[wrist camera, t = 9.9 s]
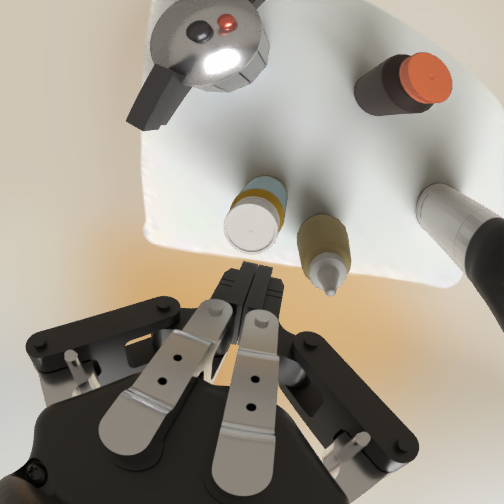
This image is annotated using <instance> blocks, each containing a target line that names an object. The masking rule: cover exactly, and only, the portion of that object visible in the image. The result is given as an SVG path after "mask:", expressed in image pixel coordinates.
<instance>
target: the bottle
mask: <svg viewBox="0 0 504 504" xmlns="http://www.w3.org/2000/svg"><path fill="white" fill-rule="evenodd" d="M286 205H287V192H286V189H285V187H284V185H283V184H282V183H281V182H280V181H279V180H278V179H276V178H274V177H271V176H259V177H256V178H254V179H252V180H251V181H250V182H249V183H248V184H247V185H246V186H245V188H244V189H243V190H242V191H241V192H240V193H239V195H238V196H237V197H236V198H235V199H234V201H233V203H232V205H231V208H230V211H229V213H228V214H227V216H226V218H225V222H224V233H225V236H226V238H227V240H228V242H229V243H230V244H231V246H232V247H234V248H235V249H236V250H238V251H240V252H242V253H245V254H259V253H263V252H265V251H266V250H268V249H269V248H271V246H273V244H274V243H275V241H276V239H277V236H278V233H279V231H280V230H281V228H282V226H283V223H284V217H285V211H286Z"/></svg>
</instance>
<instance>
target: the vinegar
mask: <svg viewBox="0 0 504 504" xmlns="http://www.w3.org/2000/svg"><path fill="white" fill-rule="evenodd" d="M451 90H452V79H451V75H450V73H449V71H448V69H447V67H446V65H444V64H443V62H442V61H441V60H439V59H438V58H437V57H436V56H434V55H432V54H430V53H429V54H428V53H426V52H425V53H424V52H423V53H422V52H421V53H420V52H419V53H416V54H414V55H412V56H409V55H395V56H393V57H390V58H388V59H387V60H385V61H384V62H383V63H381V64H380V65H378V66H377V67H375V68H374V69H373V70H371V71H370V72H368V73H367V74H366V75H364V76H363V77H362V78H361V79H360V80H359V81H358V82H357V83H356V86H355V91H354V94H355V98H356V101H357V103H358V104H359V106H360V107H361V108H362V109H363V110H364V111H365V112H367V113H369V114H371V115H375V116H382V115H394V114H411V113H422V112H424V111H426V110H429V108H430V107H431V106H432V105H433V104H434V103H440V102H443V101H445V100H446V99H447V98H448V97H449V96H450V94H451Z"/></svg>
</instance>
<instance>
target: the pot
mask: <svg viewBox="0 0 504 504" xmlns="http://www.w3.org/2000/svg"><path fill="white" fill-rule="evenodd" d="M248 1H249V2H250V3H251V4H252V5H253V6H254V7H255V9H257V8H258V7H259V6H260V5H261V4H262V3H263V2H264V1H265V0H248ZM269 47H270V45H269V42H268V40H267V37H266V35H265V32H264V30H263V37H262V42H261V45H260V48H259V50H258V52H257V54H256V56H255V57H254V59H253V60H252V61H251V62H250V64H249V65H248V66H247V67H246V68H244V69H243V70H242V71H241V72H240V73H238V74H237V75H235V76H233V77H232V78H230V79H228V80H226V81H224V82H221V83H218V84H214V85H209V86H193V87H196V88H199V89H202V90H205V91H215V92H228V91H229V92H231V91H234V90H236V89H238V88H241V87H243V86H246V85H248V84H251V83H250V82H253V81H254V80H255V78H256V77H257V76H258V75H259V74H260V73H261V71H262V70H263V69H264V68H265V67H266V66H265V65H267V59H268V53H269ZM191 88H192V86H188V85H184V84H183V86H182V88H181V89H180V91H179V93H178V94H177V96H176V98H175V100H174V101H173V103H172V105H171V107H170V109H169V110H168V112H167V114H166V116H165V118H164V120H163V122H162V124H161V125H166V124H167V123H168V121H169V120H170V118H171V117H172V115H173V114H174V112H175V111H176V109H177V108H178V106H179V105H180V103H181V102H182V100H183V99H184V97H185V96H186V95H187V93H188V92H189V90H190V89H191Z"/></svg>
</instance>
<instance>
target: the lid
mask: <svg viewBox="0 0 504 504" xmlns="http://www.w3.org/2000/svg"><path fill="white" fill-rule="evenodd" d="M262 37H263V27H262V22H261V19H260V16H259V14H258V12H257V10H256V9H255V7H254V6H253V5H252V4H251V3H250V2H249V1H248V0H179V1H177V2H176V3H174V4H173V5H172V6H171V7H169V8H168V9H167V10H166V11H165V12H164V13H163V15H162V16H161V17H160V19H159V20H158V22H157V23H156V25H155V27H154V30H153V33H152V36H151V41H150V51H151V56H152V60H153V62H154V64H155V65H154V67H153V69H152V70H151V72H150V74H149V76H148V78H147V79H146V81H145V83H144V85H143V87H142V89H141V91H140V93H139V94H138V96H137V99H136V100H135V103H134V104H133V107H132V109H131V111H130V113H129V115H128V117H127V120H126V122H128V123H130V124H132V125H133V126H135V127H137V128H138V129H140V130H142V131H149V130H158V129H159V127H160V125H161V124H162V122H163V120H164V118H165V116H166V114H167V112H168V110H169V109H170V107H171V105H172V103H173V101H174V100H175V98H176V96H177V94H178V93H179V91H180V89H181V88H182V86H183V84H184V85H188V86H209V85H214V84H218V83H221V82H224V81H226V80H228V79H230V78H232V77H233V76H235V75H237V74H238V73H240V72H241V71H242V70H243V69H244V68H246V67H247V66H248V65H249V64H250V62H251V61H252V60H253V59H254V57H255V56H256V54H257V52H258V50H259V48H260V45H261V42H262Z"/></svg>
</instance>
